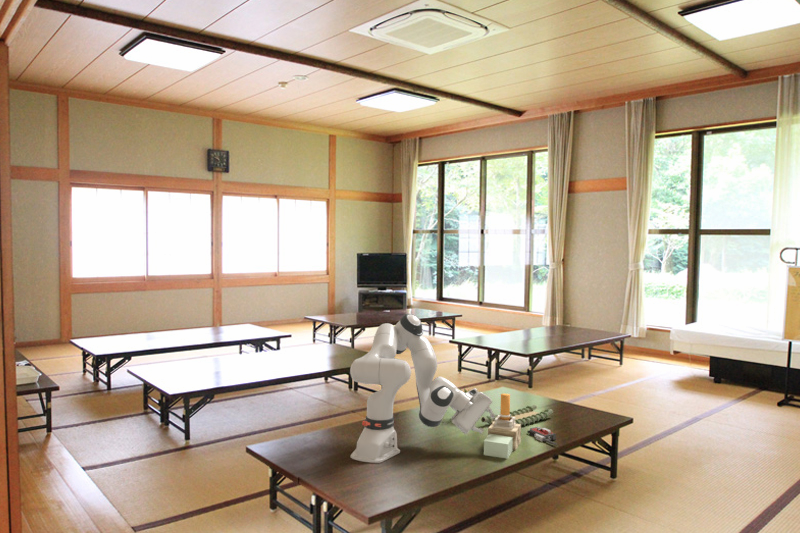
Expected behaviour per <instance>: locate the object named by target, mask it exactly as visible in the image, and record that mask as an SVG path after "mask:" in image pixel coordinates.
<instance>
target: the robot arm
mask: <svg viewBox="0 0 800 533" xmlns="http://www.w3.org/2000/svg"><path fill="white" fill-rule="evenodd" d="M423 334H424V328H423V325H422V321H421V319H420V318H419V317H418V316H416V314H413V313H406V314H404V315H403V316H401V318H400V319H399V320H398V322H397V323H396V324H395V325H393V324H391V323H388V322H387V323H382V324H380V325H379V326H378V328H377V329H376V331H375V334H374V338H373V340H372V341H373V342H372V345H371V348H370V350H369V351H367V353H366V354H364V355H363V356H361V357H358V358H355V360H353V362H352V363H351V365H350V370H349V374H350V377H351V380H353V381H354V382H355V383H360V384H364V385H380V386H382V387H381V389H379V390H377V391H375V392H373V393H371V394H370V395H369V396H368V398H367V400H366V416H365V419H364V420H363V421H362V422H361V424H362V426H363V427H364V428H363V430H362V432H361V433H360V435H359V438H358V440H356V448H355V449H354V450H353V452H352V453H351V454H350V458H351V459H352V460H355V461H359V462H362V463H363V462H364V463H373V464H378V463H379V464H380V463H381V464H382V463H383V462H385V461H387V460H389V459H390V458H393V457H394V456H396V455H398V454H400V453H401V449H399V448H398V437H397V436H398V435H397V431H396V429H395V428H394V426H395V423H394V422H395V417H394V405H395V404H394V403H395V398H396V394H397V393H398V391H399V390H400V389H401V388H402V387H403V386H404V385H406V383H407V382H409V380H410V379H411V376H412V369H411V365H410V364H409V363H408V362H407V360H404V359H399V358H396V356H397V355H401V354H403V353H404V352H405V351H406V350H407V349H408V350H409V351H410V356H411V359H412V364H413V368H414V374H415V375H414V376H415V384H416V392H417V396H418V402H419V403H418V404H419V411H418V418H419V419H420V422H421V423H422V424H423V425H424V426H427V427H429V428H435V427H436V428H437V427H438V426H440V425H441V422H442V420H443V417H444V416H445V414H446V412H447V411H448V409H449V407H450V409H452V410H454V412H455V413H454V415H452V416H451V421H450V422H451V423H452V424H453V425H454V426H456V428H458V429H459V431H460V432H461V433H462V434H464V435H467V434H469V432H470V431H471V430H472V431H473V432H477V433H479V434H481V435H482V434H483V432H484V431H485V430H484V428H482V427H480V428H478V427H476V423H478V421H479V420H480V419H481V418H482V417H483V415H484V414H485V413H489V416H490V417H491V418H492V419H493V418H494V417H495V416H496V415H497V414H495V413H494V412H493V410H492V408H491V407H490V406H491V405H492V403H493V400H492V398H491V397H489V396H488V395H487V394H485V393H483V392H482V391H478V388H472V389H470V390H469V391H468V390H467V391H468V392H466V393H464V391H463V390H462V389H461V390H462V391H461V390H460V389H459V388H458V386H456V385H455V384H454V383H453V382H452V381H450V380H448V379H447V378H446V377H443V376H440V375H439V376H436V377H435V375H436V372H437V368H438V358H437V355H436V353H435V350H434V348H433V346H432V344H431V342H430V340H429V339H428V338H427V337H425V336H424V335H423ZM434 377H435V378H434Z"/></svg>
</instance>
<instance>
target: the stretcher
mask: <svg viewBox="0 0 800 533" xmlns="http://www.w3.org/2000/svg"><path fill="white" fill-rule="evenodd" d="M537 408H538V407H537V405H536V404H532V405H527V406H525V407H523V408H522V409H521V408H518V409H517V410H513V411H510V417H515V423H516V424H521V426H523V427H525V426H526V425H530V424H535V422H539V421H540V420H541V421H543V420H544V419H547V418H549V416H550V415H552V414H553V413H554V411H553V409H551V408H550V409H545V410H543V411H540V412H537V411H535V410H536V409H537ZM495 415H496V416H495V417H494V418H493V419H492V418H491V417H490V415H486V416H481V417H480V421H481V422H482V423H487V424H489V425H491V424H492V423H493V422H494V420H495V418H496V417H497V416H498V415H499V414H495Z"/></svg>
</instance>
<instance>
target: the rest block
mask: <svg viewBox="0 0 800 533" xmlns="http://www.w3.org/2000/svg"><path fill="white" fill-rule="evenodd" d="M513 451H514V450H513V437H509V436H502V435H495V434H489V435H488V434H487V436H486V437H485V439H484V440H483V456H487V457H488V456H489V457H493V458H500V459H506V460H507V459H509V458H510V456H511V454H512V453H513Z"/></svg>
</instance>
